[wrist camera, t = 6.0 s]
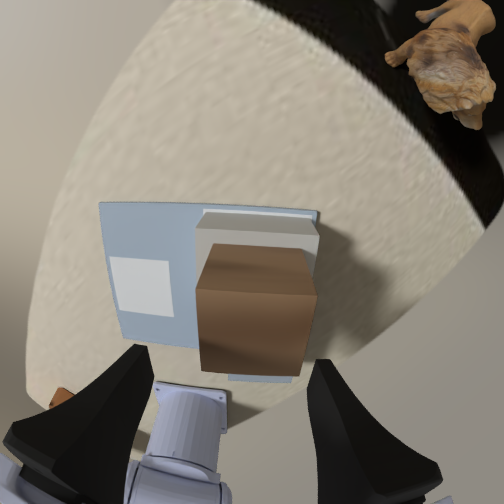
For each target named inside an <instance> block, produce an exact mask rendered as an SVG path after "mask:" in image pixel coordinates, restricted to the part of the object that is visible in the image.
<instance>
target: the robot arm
mask: <svg viewBox="0 0 504 504" xmlns="http://www.w3.org/2000/svg"><path fill="white" fill-rule="evenodd" d="M153 381H154V373H153V369H152V365H151V361H150V357H149V353H148V348H147V346H144V345H138V344H134V345H132V346H131V347H130V348H129V349H128V350H127V351H126V352H125V353H124V354H123V355H122V356H121V357H120V358H119V359H118V360H117V361H116V362H114V363H113V364H112V365H111V366H110V367H109V368H108V369H107V370H106V371H105V372H104V373H102V374H101V375H100V376H99V377H98V378H97V379H95V380H94V381H93V382H92V383H90V384H89V385H88V386H87V387H85V388H84V389H83V390H81V391H80V392H78V393H77V394H76V395H74V396H73V397H71V398H69V399H68V400H66V401H64V402H62V403H61V404H59V405H57V406H55V407H53V408H51V409H49V410H47V411H45V412H42V413H40V414H37V415H35V416H33V417H29V418H26V419H23V420H19V421H16V422H13V424H12V425H11V427H10V429H9V430H8V432H7V434H6V436H5V438H4V440H3V444H4V446H5V447H6V448H7V449H8V450H9V451H10V452H11V453H12V454H13V455H15V456H16V457H17V458H18V459H19V460H20V461H21V462H23V463H24V465H23V467H20V466H19V465H18V464H16V463H15V462H14V461H12V460H11V459H9V458H8V457H6V456H5V455H4V454H2V453H0V502H1V503H2V504H232V494H231V490H230V489H229V487H228V486H227V484H226V483H224V482H220V474H219V473H216V469H217V460H218V452H219V442H220V434H226V433H227V394H226V392H225V391H223V390H213V389H204V388H195V387H188V386H180V385H174V384H167V383H161V382H154V383H153ZM152 385H153V388H154V391H155V394H156V398H157V401H158V404H159V409H158V412H157V416H156V419H155V422H154V426H153V429H152V432H151V436H150V439H149V443H148V446H147V450H146V453H145V455H144V454H143V455H142V459H141V462H140V461H137V460H133V461H132V462H129V458H130V453H131V449H132V444H133V440H134V437H135V434H136V431H137V428H138V426H139V423H140V420H141V418H142V415H143V413H144V410H145V407H146V405H147V402H148V399H149V397H150V393H151V389H152ZM307 402H308V412H309V417H310V423H311V428H312V433H313V438H314V443H315V449H316V456H317V472H318V504H423V502H425V500H426V499H425V494H426V493H428V492H429V491H431V490H432V489H434V488H435V487H437V486H438V485H440V484H441V483H442V481H443V478H442V475H441V472H440V469H439V467H438V464H437V463H436V462H434V461H432V460H430V459H428V458H426V457H425V456H422V455H421V454H419V453H417V452H416V451H414V450H413V449H411V448H409V447H408V446H406V445H405V444H404V443H402V442H401V441H400V440H399V439H397V438H396V437H394V436H393V435H392V434H391V433H390V432H388V431H387V430H386V429H385V428H384V427H383V426H382V425H381V424H380V423H379V422H378V421H377V420H376V419H375V418H374V417H373V416H372V415H371V414H370V413H369V412H368V410H367V409H366V408H365V407H364V406H363V405H362V403H361V402H360V401H359V400H358V398H357V397H356V396H355V395H354V393H353V392H352V391H351V389H350V388H349V387H348V385H347V384H346V383H345V381H344V379H343V378H342V376H341V375H340V374H339V372H338V370H337V369H336V367H335V366H334V364H333V363H332V361H331V360H330V359H316V361H315V364H314V367H313V371H312V374H311V377H310V380H309V383H308V387H307ZM432 504H453V500H452V498H451V496H447V497H445V498H443V499H441V500H439V501H437V502H434V503H432Z"/></svg>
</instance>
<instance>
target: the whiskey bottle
mask: <svg viewBox="0 0 504 504" xmlns="http://www.w3.org/2000/svg"><path fill="white" fill-rule="evenodd" d="M73 396H74V395H73V394H71V393H70V392H68V391H67V390H65V389H63V388H58V389H57V391H56V393H55V394H54V396H53V398H52V400H51V402H50V404H49V408H50V409H51V408H53V407H55V406H57V405H59V404H61V403H62V402H64V401H66V400H68V399H69V398H71V397H73ZM23 465H24V464H23Z"/></svg>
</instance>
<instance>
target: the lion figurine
mask: <svg viewBox="0 0 504 504" xmlns="http://www.w3.org/2000/svg"><path fill="white" fill-rule="evenodd" d="M416 17H417V18H418V19H419V20H420V21H421V22H422V23H427V22H429V21H430V20H432V19H433V18H436V17H438V18H437V19H436V20H434V22H432V23H431V25H430V27H429V28H428V29H427V30H423V31H421V32H419V33H418V34H417V35H415V36H414V38H412V39H409V40H408V41H406V42H405V43H404V44H403V45H402V46H400V47H399V48H398V49H397V50H395V51H390V52H387V53H386V54H385V60H386V62H387V64H389V65H390V66H392V67H396V66H398V65H399V64H403V62H404V61H405V60H406V59H407V58H409V59H408V60H407V66H408V67H409V75H411V76H412V77H413V78H414V80H415V81H416V84H417V86H418V89H419V90H420V92H421V93H422V95H423V99H424V100H425V101H426V102H427V104H428V106H429V107H431V108H432V109H433V110H435V111H436V112H438V113H440V114H442V113H444V112H448V111H452V113H453V116H454V118H455V119H457V120H460V121H461V123H462V124H463V125H464V126H465V127H468V128H473V129H475V130H479V129H481V127H482V112H483V110H484V109H485V108H486V103H488V102H491V101H492V99H493V93H494V91H495V90H496V86H495V85H496V84H495V83H494V81H492V80H491V79H490V76H489V72H488V70H487V68H486V64H485V63H484V62H482V61H481V57H480V55H479V54H478V53H477V51H476V48H475V47H476V45H477V43H478V40H479V37H480V36H481V35H483V34H486V33H488V32H490V31H492V30H493V29H494V27H495V18H494V16H493V14H492V10H491V8H490V7H489V6H488V5H487V4H485V3H484V2H483V1H481V0H447V2H446V3H444V4H442V5H441V6H440V7H438V8H434V9H432V10H428V11H418V12H416Z"/></svg>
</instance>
